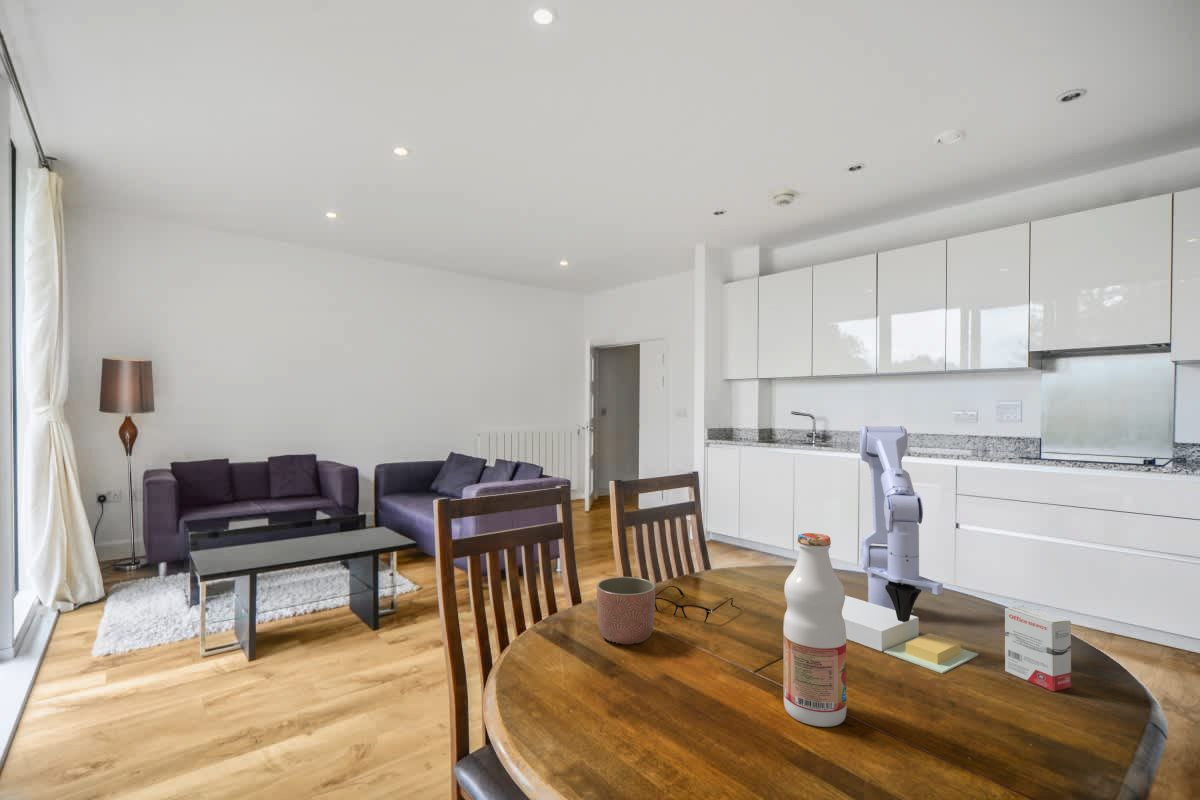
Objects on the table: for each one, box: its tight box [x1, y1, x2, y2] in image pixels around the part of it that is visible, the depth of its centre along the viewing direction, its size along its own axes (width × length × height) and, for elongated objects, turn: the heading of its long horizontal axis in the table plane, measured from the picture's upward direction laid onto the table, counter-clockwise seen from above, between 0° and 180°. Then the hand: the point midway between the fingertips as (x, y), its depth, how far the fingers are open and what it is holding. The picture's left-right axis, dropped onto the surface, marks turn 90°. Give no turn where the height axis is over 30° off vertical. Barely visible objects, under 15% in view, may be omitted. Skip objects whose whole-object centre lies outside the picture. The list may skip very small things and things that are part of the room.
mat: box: [883, 635, 979, 674], centre depth 114 cm, size 14×11×1 cm
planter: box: [596, 576, 656, 645], centre depth 122 cm, size 12×12×11 cm
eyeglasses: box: [655, 585, 734, 623], centre depth 140 cm, size 16×16×4 cm
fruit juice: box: [782, 532, 847, 728], centre depth 92 cm, size 9×9×28 cm
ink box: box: [1004, 605, 1072, 692], centre depth 104 cm, size 8×5×12 cm, turn 20°
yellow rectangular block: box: [906, 632, 962, 665], centre depth 114 cm, size 9×6×2 cm, turn 124°
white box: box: [842, 594, 920, 652], centre depth 128 cm, size 14×22×4 cm, turn 34°
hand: (903, 620), depth 119 cm, fingers closed
